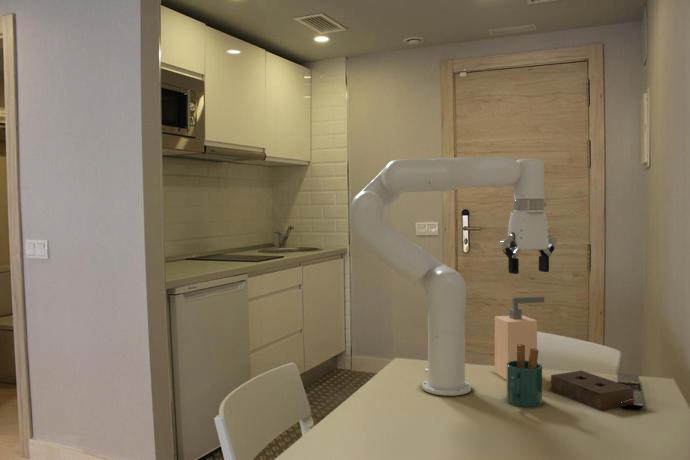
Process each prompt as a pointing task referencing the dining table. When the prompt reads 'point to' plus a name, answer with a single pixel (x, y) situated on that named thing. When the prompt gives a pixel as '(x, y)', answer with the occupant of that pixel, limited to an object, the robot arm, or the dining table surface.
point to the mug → (524, 385)
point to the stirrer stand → (592, 390)
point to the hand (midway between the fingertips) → (528, 272)
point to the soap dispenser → (514, 334)
